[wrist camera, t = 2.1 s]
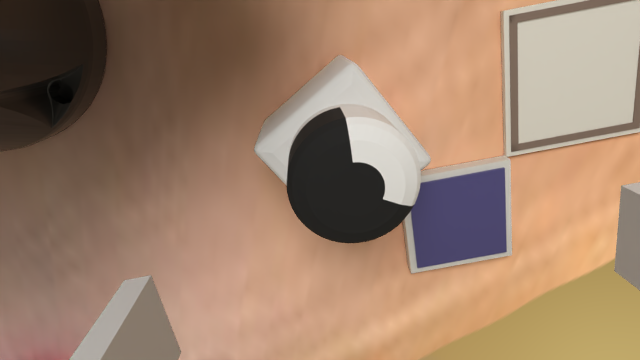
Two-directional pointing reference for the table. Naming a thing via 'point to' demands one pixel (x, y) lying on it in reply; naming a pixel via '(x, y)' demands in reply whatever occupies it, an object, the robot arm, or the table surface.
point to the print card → (569, 73)
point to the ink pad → (460, 215)
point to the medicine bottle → (343, 156)
